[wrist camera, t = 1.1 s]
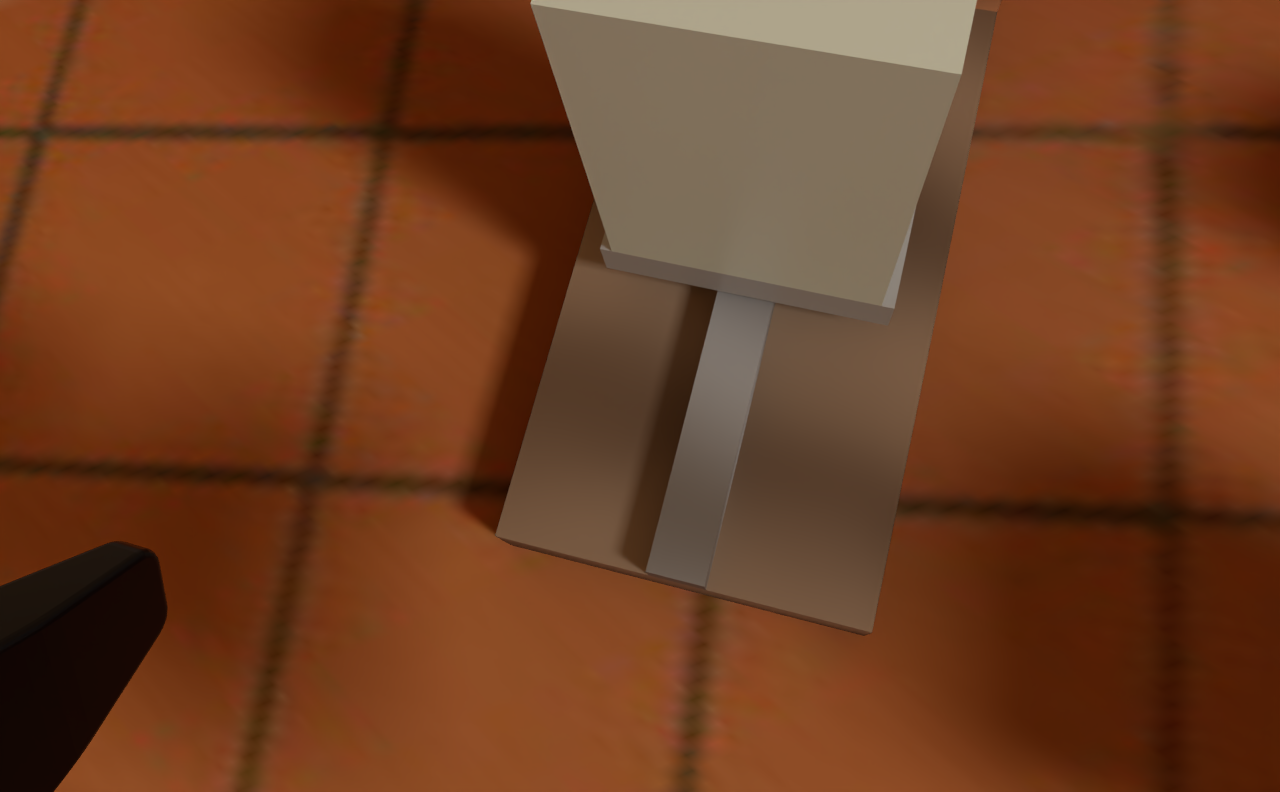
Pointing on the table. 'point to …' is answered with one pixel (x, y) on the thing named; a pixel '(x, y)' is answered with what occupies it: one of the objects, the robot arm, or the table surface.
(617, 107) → the block
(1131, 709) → the table surface
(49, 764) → the robot arm
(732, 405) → the track
